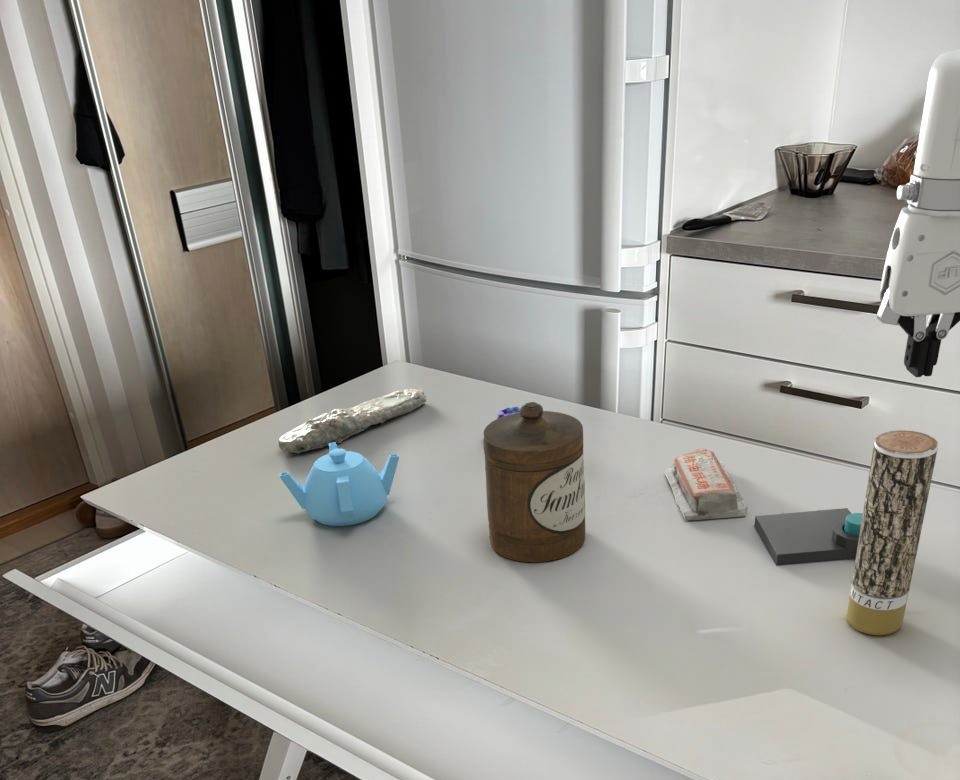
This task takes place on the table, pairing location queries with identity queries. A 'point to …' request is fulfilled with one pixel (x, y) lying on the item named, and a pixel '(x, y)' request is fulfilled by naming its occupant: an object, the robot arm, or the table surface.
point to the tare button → (853, 524)
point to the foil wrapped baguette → (349, 421)
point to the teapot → (343, 487)
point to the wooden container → (535, 484)
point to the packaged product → (704, 487)
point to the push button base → (807, 536)
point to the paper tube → (890, 530)
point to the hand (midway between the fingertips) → (918, 372)
